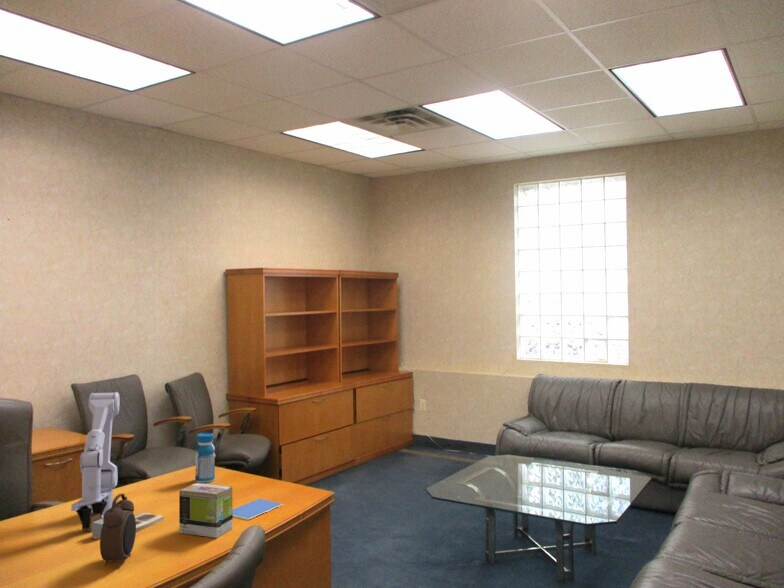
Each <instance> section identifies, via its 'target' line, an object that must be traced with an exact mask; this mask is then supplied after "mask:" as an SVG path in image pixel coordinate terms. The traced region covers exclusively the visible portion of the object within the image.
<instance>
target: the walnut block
mask: <svg viewBox="0 0 784 588" xmlns="http://www.w3.org/2000/svg"><path fill="white" fill-rule="evenodd" d="M97 520H100V514H98V513H93V512H91V514H90V521H89V528H83V526H82V525H81V531H82V532H86V531H88V533H92V522H95V521H97Z"/></svg>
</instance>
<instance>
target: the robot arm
mask: <svg viewBox="0 0 784 588" xmlns="http://www.w3.org/2000/svg"><path fill="white" fill-rule="evenodd" d="M120 399H121V398H120V393H119V392H118V391H115V392H91V393H90V394H89V397H88V408H89V410H90V412H91V414H92V423H91V430H90V431H89V432H88V433H87V434H86V439H85V444H84V449H83V452H81V453H80V457H79V467H80V474H81V477H82V478H81V493H82V494H81V499H79V500H78V501H76V502H75V503H73V504H70V506H71V508H70V509H71V511H73V512H76V514H77V515H78V517H79V519H80V522H81V527H82V526H83V528H89V521H90V514H91V512H93V513H98V514H100V519H103V516H104V513H105V512H106V511H107V510H108V509H110V508H111V507H112V502H113V500H114V488H116V487H117V485H118V479H119V477H118V476H119V475H118V466H117V465H116V464H114V463H113V462H112V461H111V450H112V449H111V448H112V434H113V433H112V432H113V422H114V417H115V416H118V415H119V412H120V406H121V405H120V402H121V401H120Z"/></svg>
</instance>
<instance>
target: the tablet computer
mask: <svg viewBox="0 0 784 588" xmlns="http://www.w3.org/2000/svg"><path fill="white" fill-rule="evenodd" d="M281 505H283V506H284V504H283V503H280V502H275V501H271V500H268V499H263V498H257V499H255V500H252V501H250V502H247V503H245V504H242V505H240V506H237V507H235V508H232V510H233V514H232V515H233V518H235V517H236V519H239V518H241V519H240V520H243V519H246V520H245V521H249V520H248V519H251V518H253V517H255V518H257V517H256V516H258V515H260V514H262V513H265V512H267V513H269V512H271V511H270V510H272V509H274V508H276V507H279V506H281ZM281 507H282V506H281ZM279 508H280V507H279ZM276 509H277V508H276ZM274 510H275V509H274ZM268 511H269V512H268ZM272 511H273V510H272ZM265 514H266V513H265ZM262 515H263V514H262ZM260 516H261V515H260ZM258 517H259V516H258ZM253 519H254V518H253ZM251 520H252V519H251Z"/></svg>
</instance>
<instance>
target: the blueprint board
mask: <svg viewBox="0 0 784 588" xmlns="http://www.w3.org/2000/svg"><path fill="white" fill-rule="evenodd" d="M134 516H135V520H136V533H137V532H140V531H142V530H144V529H146V528H148V527H150V526H153V525H154V524H156V523H159V522H161V521H164V517H165V516H164V515H159V514H153V513H147V512H139V513H137V514H134Z"/></svg>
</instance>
